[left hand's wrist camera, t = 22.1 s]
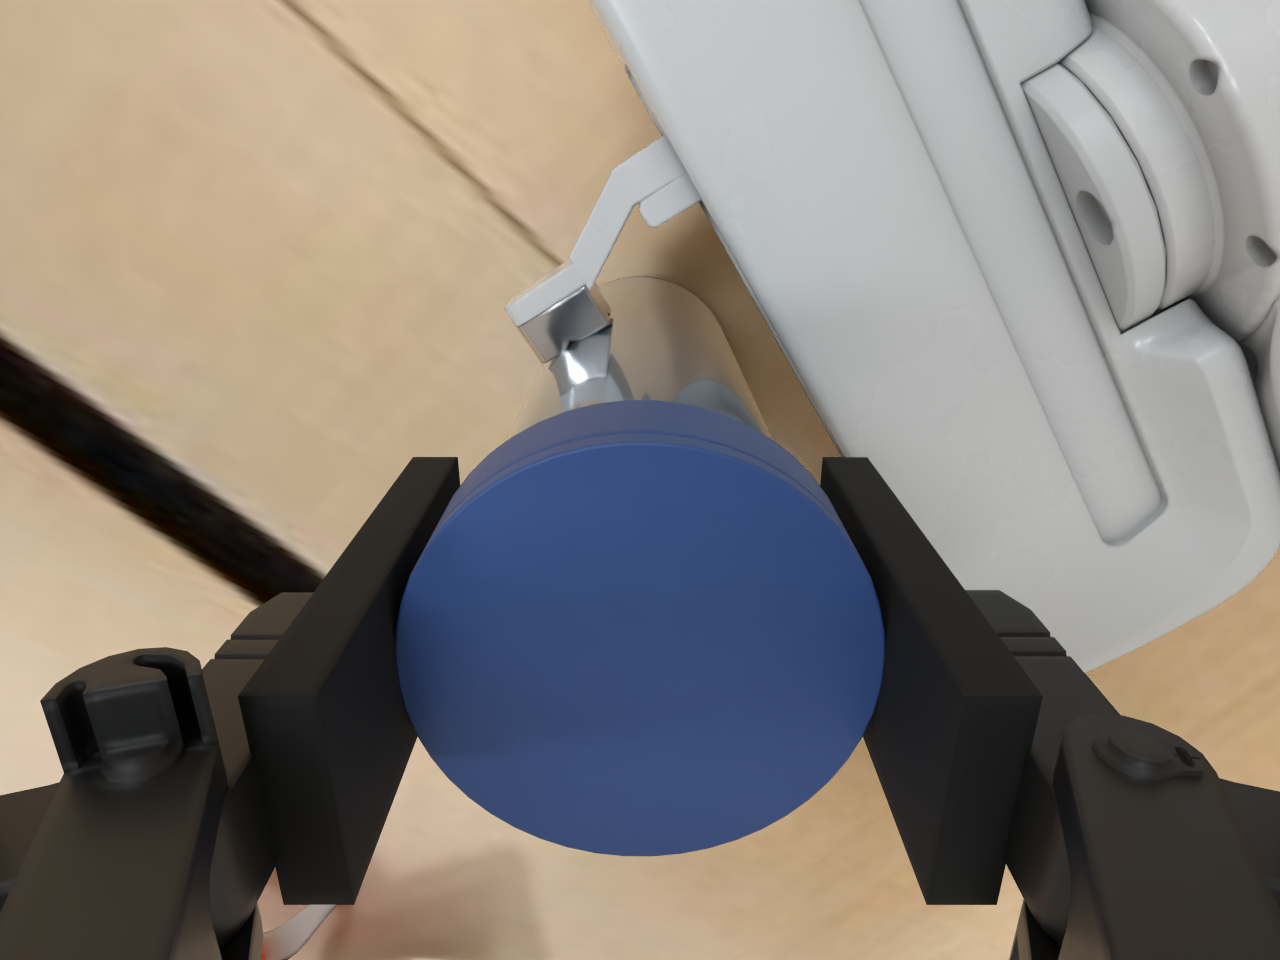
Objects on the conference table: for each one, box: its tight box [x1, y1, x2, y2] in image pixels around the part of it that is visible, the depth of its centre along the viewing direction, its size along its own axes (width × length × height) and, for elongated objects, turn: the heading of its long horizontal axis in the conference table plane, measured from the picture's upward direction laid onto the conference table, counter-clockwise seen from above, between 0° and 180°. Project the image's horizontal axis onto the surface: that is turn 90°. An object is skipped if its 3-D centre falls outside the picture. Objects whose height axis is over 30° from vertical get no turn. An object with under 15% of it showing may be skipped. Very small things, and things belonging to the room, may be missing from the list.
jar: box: [508, 277, 773, 440], centre depth 18 cm, size 5×5×15 cm
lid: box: [395, 400, 885, 856], centre depth 11 cm, size 6×6×2 cm
